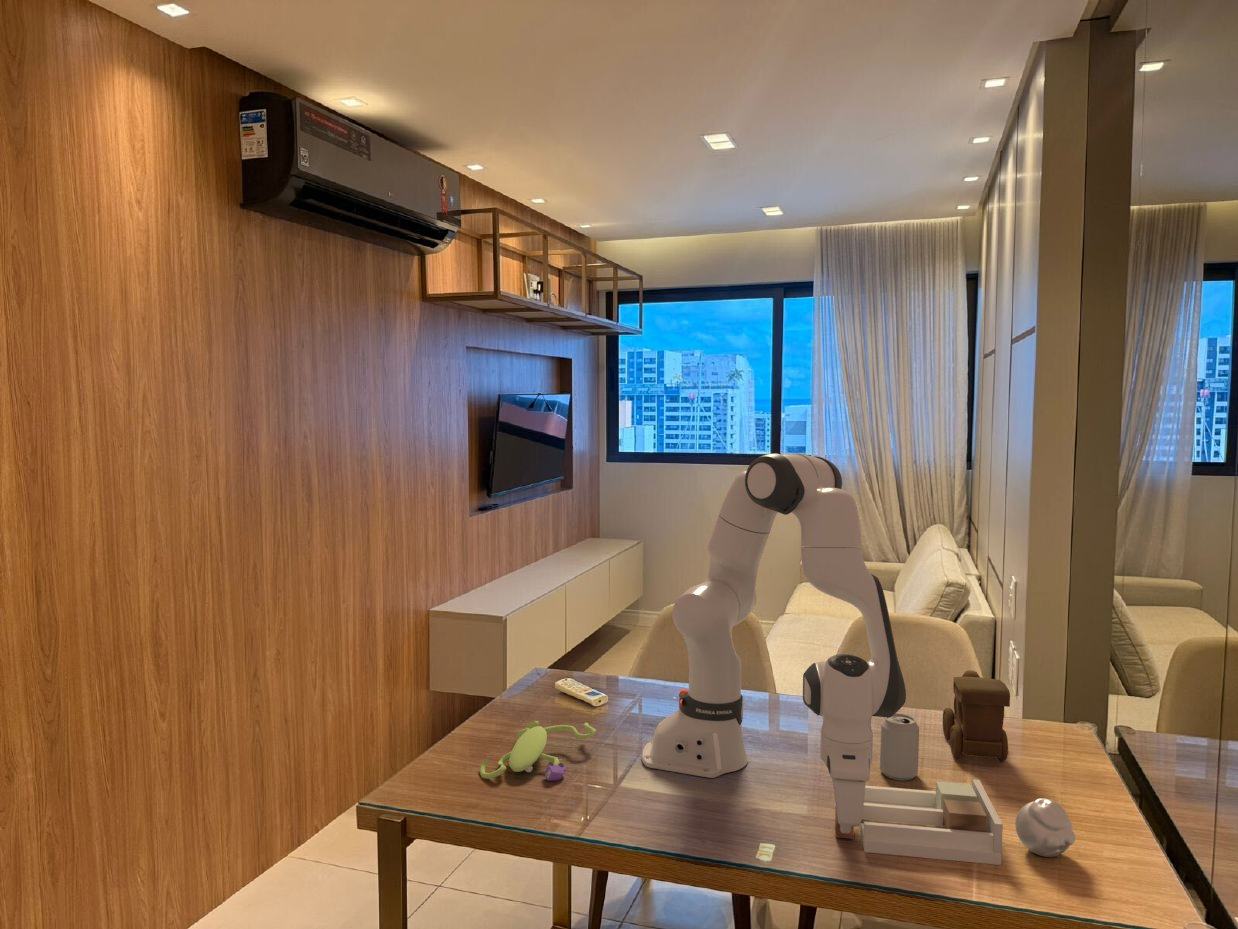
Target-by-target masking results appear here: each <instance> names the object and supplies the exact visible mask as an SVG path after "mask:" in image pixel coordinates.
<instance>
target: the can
mask: <svg viewBox="0 0 1238 929" xmlns="http://www.w3.org/2000/svg"><path fill="white" fill-rule="evenodd" d="M919 745H920V726H919V725H918V724H917V719H916V718H915V717H914V716H911V715H909V714H906V713H898V712H897V713H895V714H894V715H893V716H891V717H890V718H887V717H884V719H883V720H882V721H881V724H880V755H879V769H880V771H881V772H882V773H883V774H884V775H885V776H886V777H888V778H889V779H893V780H895V781H910V780H913V779H914V777H916V776H918V772H919V751H920V750H919Z"/></svg>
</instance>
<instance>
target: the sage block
mask: <svg viewBox="0 0 1238 929" xmlns="http://www.w3.org/2000/svg"><path fill="white" fill-rule="evenodd" d="M935 791H936V803H935V808H936V809H943V802H944V799H947V800H959V801H971V802H977V796H976V794H975V792H974V790H973V788H972V784H971V783H961V782H950V781H949V782H948V781H935Z"/></svg>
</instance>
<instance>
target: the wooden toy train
mask: <svg viewBox="0 0 1238 929" xmlns="http://www.w3.org/2000/svg"><path fill="white" fill-rule="evenodd" d="M953 693H954V699H953V709H952V708H951V707H945V708H944V710H943V711H942V732H943V737H945V739H946V740H949V742H950V743H949V744H950V752H951V755H952V757H954V758H956V759H960V758H962V756H970V757H981V758H993V759H996V760H997V761H998V762H1000V763H1002V762H1005V761H1007V758H1008V756H1009V742H1008V740H1009V739H1008V735H1007V731H1005V729H1004V728H1003V727H1004V719H1005V707H1007V708H1010V707H1011V693H1010V690H1009V688H1008V687H1007V685H1006V683H1004V682H1003V681H1002V680H1000V679H995V678H989V677H988V678H987V677H980V675H979V673H978V672H977V671H975V670H969V669H968V670H965V671H964V673H963V674H962V675H961V676H953Z"/></svg>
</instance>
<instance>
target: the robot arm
mask: <svg viewBox="0 0 1238 929" xmlns="http://www.w3.org/2000/svg"><path fill="white" fill-rule="evenodd" d="M719 510H720V511H719V513H718V516H717V519H716V521H715V525H714V528H713V530H712V534H711V537H710V540H709V543H708V545H707V551H708V554H709V558H710V559H709V570H708V573H707V576H706V578H705V579H704V581H703V582H701V583H699V584H696V585H694V586H691V587H689V588H687V589H686V590H685V591H684V592H683V593H682V594H681V595H680V596H679V597H678V598H677V600H676V601H675V602H674V603H673V607H672V613H671V614H672V616H671V617H672V621H673V625H675V626H674V627H675V628H676V630H677V631H678V632H679V633H680V634H681V635H682V637H683V640H684V642H685V643H684V644H685V646H686V652H687V659H688V689H687V688H685V687H682V688H681V689H680V690H679V693H678V698H679V699H678V708H679V709H677V710H676V711H675V712H673V713H671V714H670V715H669V716H667V717H665V718H664V719H662V720H661V721H660V722H659V724H658V725H657V726H656V728H655V730H654V734H653V736H652V737H653V738H652V740H650V741H648V742H647V743H646V744H645V745H644V747H643V749H642V754H641V761H642V763H643V764H644V766H645V767H646V768H651V769H657V770H662V771H667V772H673V773H680V774H686V775H692V776H698V777H704V778H709V779H714V778H717V777H720V776H721V775H723V774H727V773H732V772H736V771H739V770H741V769H743V768H744V767H745V766H747V764H748V761H749V760H748V756H747V753H746V747H745V742H744V736H743V726H742V723H743V720H744V698H743V694H742V660H741V657H740V656H739V654H738V653H736V649H735V645H734V640H733V635H732V633H733V627H735V626H737V625H739V624H740V623H742V622H744V620H745V621H746V619H747V618H748V617H749V615H750V614H751V612H753V609H754V608H755V606H756V603H757V591H756V583H757V576H758V571H759V566H760V562H761V559H762V556H763V553H764V551H765V547H766V545H767V541H768V539H769V535H770V533H771V530H772V527H773V524H774V520H775V519H776V516H777V515H778V513H779V514H782V515H785V516H787V515H789V514H793V515H794V516H795V517H796V518H797V519H798V521H799V524H800V535H801V536H800V542H801V543H800V546H801V547H800V554H801V555H800V556H801V557H800V558H801V559H800V560H801V568H802V572H803V575H804V577H805V578H806V580H807V582H809V584H810V585H812V586H813V587H814V588H815V589H817V590H818V591H819V592H822V593H823V594H825V595H828V596H830V597H833V598H836V599H838V600H841V601H844V602H846V603H849V604H850V605H853V607H855V608H857V610H858V612H860V613H861V615H862V617H863V620H864V625H865V630H866V636H867V641H868V646H869V650H870V656H871V657H870V659H869V660H868V661H866V660H864V659H863V658H862V657H859V656H857V655H852V654H847V653H845V654H844V653H843V654H841V653H840V654H834V655H831V656H830V657H828V658H827V659H826V661H817V662H813V663H811V665H809V666H808V668H807V669H806V670H805V671H804V673H803V674H802V701H803V704H804V705H805V706H806V707H807V708H808V709H810V711H811V712H812V713H813V714H815V715H816V716H819V717H822V725H821V728H820V752H819V754H820V759H821V760H822V761H823V762H824V764H825V766H826V767H827V769H828V770H827V771H828V774H829V776H830V778H831V780H832V787H833V794H834V802H835V806H836V810H837V819H838V823H839V824H840V831H841V832H842V833H850V832H851V826H854V827H859V825H860V823H861V820H862V814H863V805H864V796H865V786H866V782H867V781H868V782H869V780H870V773H871V772H870V771H871V765H872V764H873V744H874V743H873V740H874V739H873V738H874V737H873V736H874V734H873V733H874V732H873V729H872V726H871V724H872V718H873V717H876V718H878V717H879V718H885V717H887V718H890V717H891V716H893V715H894V714H895V713H898V711H900V710H901V709H902V707H903V706H904V705H905V703H906V700H907V689H906V685H905V684H906V683H905V681H904V680H905V679H904V676H903V673H902V670H901V665H900V662H899V657H898V655H897V650H896V644H895V639H894V633H893V630H892V625H891V624H892V623H891V619H890V614H889V610H888V605H887V600H886V596H885V593H884V588H883V586H882V583H881V582H880V580H879V577H877V575H874V574H872V573H871V572H870V570H869V568H868V567H867V565H866V562H865V561H864V556H863V550H862V547H863V546H862V533H861V532H862V530H861V524H860V517H859V512H858V507H857V504H856V500H855V498H854V496H853V495H852V494H851V493H850V492H848V491H846V490H844V489H843V478H842V474H841V471H840V470H839V468H838V466H836V464H834V463H833V462H832V461H830V460H829V459H827V458H824V457H822V456H816V455H815V456H814V455H813V456H812V455H810V454H809V455H808V454H802V453H786V454H785V453H783V454H779V453H768V454H764V455H761V456H759V457H757V458H755V459H754V460H753V461H752V462H750V464H749V465H748V467H747V469H746V470H743V471H741V472H739V473H738V475H736V477H735V478H734V480H733V482H732V484H731V485H730V487H729V489H728V491H727V493H726V495H725V498H724V499H723V502H722V505H721V507H720V509H719Z"/></svg>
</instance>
